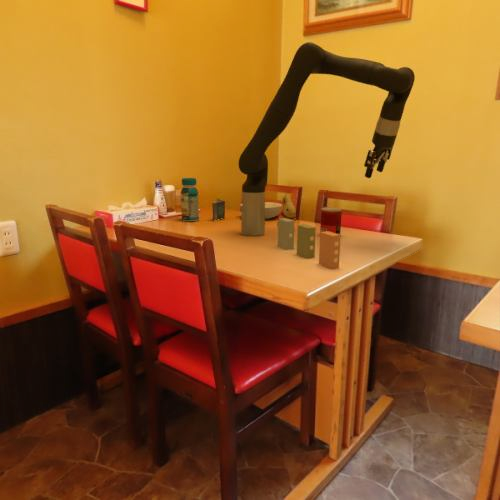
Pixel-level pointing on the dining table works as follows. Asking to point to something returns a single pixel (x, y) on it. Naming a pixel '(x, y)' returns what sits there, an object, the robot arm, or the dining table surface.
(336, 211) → the canned food
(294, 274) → the dining table surface
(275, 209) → the serving bowl
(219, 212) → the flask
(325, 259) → the digit tile 3
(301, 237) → the digit tile 2
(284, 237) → the digit tile 1
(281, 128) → the robot arm
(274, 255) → the dining table surface
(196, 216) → the beverage bottle
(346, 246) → the dining table surface
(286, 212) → the yellow pear
